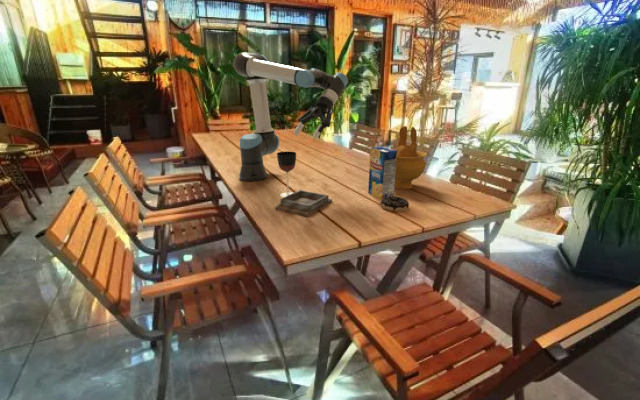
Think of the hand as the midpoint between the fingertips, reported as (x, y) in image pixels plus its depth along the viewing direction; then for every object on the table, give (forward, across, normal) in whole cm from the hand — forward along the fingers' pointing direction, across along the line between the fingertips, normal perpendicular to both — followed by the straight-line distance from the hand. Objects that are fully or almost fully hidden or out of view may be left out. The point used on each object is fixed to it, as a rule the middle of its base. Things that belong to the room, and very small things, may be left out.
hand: (304, 135), depth 155 cm
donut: (+11, -44, -28) cm, 53 cm away
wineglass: (+27, 0, -11) cm, 29 cm away
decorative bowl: (-10, -29, -48) cm, 57 cm away
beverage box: (+5, -31, -34) cm, 46 cm away
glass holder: (+29, -16, -9) cm, 34 cm away
